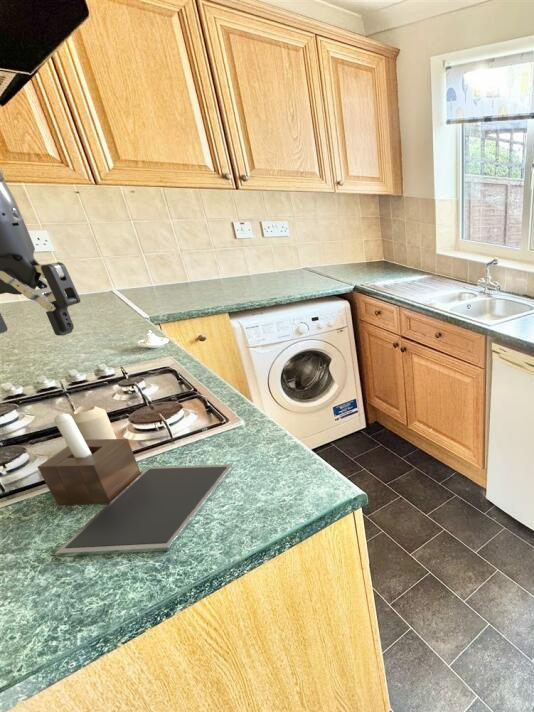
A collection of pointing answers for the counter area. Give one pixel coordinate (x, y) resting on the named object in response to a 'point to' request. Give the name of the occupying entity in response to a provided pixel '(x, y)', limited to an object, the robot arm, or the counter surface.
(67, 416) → the white rod
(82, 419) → the candle
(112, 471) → the stand
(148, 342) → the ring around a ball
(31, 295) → the robot arm
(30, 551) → the counter surface
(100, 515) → the tablet
